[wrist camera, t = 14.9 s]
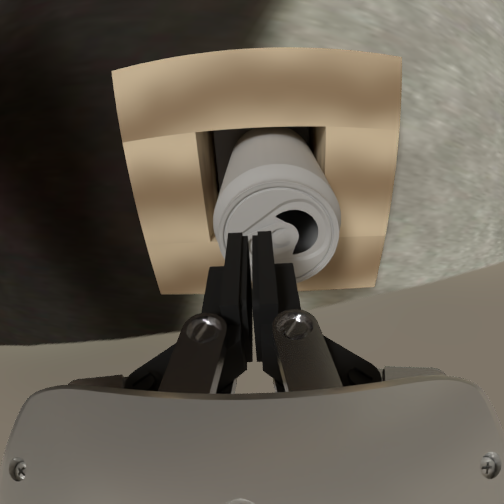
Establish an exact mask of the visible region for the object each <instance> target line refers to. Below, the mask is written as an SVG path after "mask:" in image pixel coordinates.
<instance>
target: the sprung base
mask: <svg viewBox="0 0 504 504" xmlns="http://www.w3.org/2000/svg"><path fill="white" fill-rule="evenodd" d="M287 128H290V129H292V130H293V131H295V132H296V133H298V134H299V135H300V136H301V137H302V138H303V139H304V140H305V142H306V143H307V145H308V146H309V126H289V127H287ZM251 129H253V128H240V129H225V130H213V133H214V142H215V152H216V161H217V170H218V179H219V188H220V189H221V186H222V183H223V179H224V176H225V173H226V170H227V167H228V163H229V160H230V157H231V154H232V151H233V148H234V146H235V144H236V143H237V141H238V140H239V139H240V138H241V137H242V136H243V135H244V134H245V133H246V132H248V131H250V130H251Z"/></svg>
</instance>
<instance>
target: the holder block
mask: <svg viewBox="0 0 504 504" xmlns="http://www.w3.org/2000/svg"><path fill="white" fill-rule="evenodd" d="M112 78H113V86H114V93H115V100H116V107H117V113H118V119H119V125H120V131H121V136H122V142H123V147H124V152H125V157H126V162H127V167H128V172H129V176H130V181H131V185H132V190H133V194H134V198H135V203H136V207H137V211H138V215H139V219H140V223H141V227H142V230H143V234H144V238H145V241H146V245H147V249H148V252H149V256H150V259H151V263H152V266H153V269H154V273H155V276H156V279H157V283H158V286H159V289H160V292H161V294H205V289H206V283H207V277H208V271H209V267H212V266H224V263H225V259H224V258H223V256H222V254H221V251H220V248H219V245H218V242H217V240H216V237H215V233H214V228H213V215H214V209H215V206H216V203H217V199H218V196H219V193H220V188H219V179H218V170H217V161H216V152H215V142H214V133H213V130H225V129H240V128H258V127H289V126H309V148H310V150H311V152H312V153H313V155H314V157H315V159H316V161H317V162H318V164H319V166H320V168H321V170H322V171H323V173H324V175H325V177H326V179H327V181H328V183H329V185H330V186H331V188H332V190H333V192H334V194H335V196H336V198H337V201H338V203H339V206H340V211H341V227H340V231H339V240H338V244H337V247H336V250H335V253H334V255H333V257H332V258H331V260H330V261H329V262H328V264H327V265H326V266H325V267H324V268H323V269H322V270H321V271H319V272H318V273H317V274H315V275H314V276H312V277H310V278H309V279H307V280H304V281H302V282H299V283H297V289H298V291H312V290H332V289H349V288H365V287H375V283H376V278H377V274H378V269H379V265H380V260H381V255H382V251H383V245H384V240H385V235H386V230H387V224H388V218H389V212H390V206H391V199H392V192H393V185H394V177H395V169H396V160H397V151H398V140H399V127H400V111H401V86H402V57H397V56H391V55H385V54H378V53H370V52H362V51H352V50H341V49H326V48H292V47H286V48H252V49H237V50H225V51H215V52H207V53H199V54H192V55H185V56H179V57H173V58H167V59H162V60H157V61H152V62H147V63H142V64H138V65H134V66H130V67H126V68H122V69H118V70H114V71H112Z"/></svg>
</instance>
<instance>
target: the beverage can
mask: <svg viewBox="0 0 504 504" xmlns="http://www.w3.org/2000/svg"><path fill="white" fill-rule="evenodd" d="M340 227H341V211H340V206H339V203H338V201H337V198H336V196H335V194H334V192H333V190H332V188H331V186H330V185H329V183H328V181H327V179H326V177H325V175H324V173H323V171H322V170H321V168H320V166H319V164H318V162H317V161H316V159H315V157H314V155H313V153H312V152H311V150H310V148H309V146H308V145H307V143H306V142H305V140H304V139H303V138H302V137H301V136H300V135H299V134H298V133H296V132H295V131H293V130H292V129H290V128H287V127H258V128H253V129H251V130H250V131H248V132H246V133H245V134H244V135H243V136H242V137H241V138H240V139H239V140H238V141H237V143H236V144H235V146H234V148H233V151H232V154H231V157H230V160H229V163H228V167H227V170H226V173H225V176H224V179H223V183H222V186H221V189H220V193H219V196H218V199H217V203H216V206H215V209H214V215H213V228H214V233H215V237H216V240H217V242H218V245H219V248H220V251H221V254H222V256H223V258H224V259H225V255H226V246H227V238H228V233H238V232H242V234H243V236H248V243H249V256H250V268H251V281H252V235H258V233H257V231H271V233H272V243H273V253H274V263H275V264H276V263H293V266H294V272H295V277H296V283H299V282H302V281H304V280H307V279H309V278H310V277H312V276H314V275H315V274H317V273H318V272H319V271H321V270H322V269H323V268H324V267H325V266H326V265H327V264H328V262H329V261H330V260H331V258H332V257H333V255H334V253H335V250H336V247H337V244H338V240H339V231H340Z"/></svg>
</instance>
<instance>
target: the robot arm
mask: <svg viewBox="0 0 504 504" xmlns="http://www.w3.org/2000/svg"><path fill="white" fill-rule="evenodd" d="M257 233H258V235H252V281H251V268H250V256H249V243H248V236H243V234H242V232H238V233H228V238H227V246H226V255H225V263H224V266H212V267H209V271H208V277H207V283H206V289H205V295H204V301H203V307H202V313H201V314H197V315H195V316H193V317H191V318H190V319H188V320H187V321H186V322H185V324H184V326H183V328H182V330H181V333H180V335H179V338H178V340H177V343H176V344H174V345H172V346H171V347H169V348H168V349H167V350H165V351H164V352H162V353H161V354H159V355H158V356H156V357H155V358H153V359H152V360H150V361H149V362H147V363H146V364H144V365H143V366H141V367H140V368H138V369H137V370H135V371H134V372H133V373H131V374H130V375H129V377H124V376H123V375H114V376H105V377H96V378H85V379H77V380H73V381H72V382H70V383H69V384H68V385H60V386H54V387H49V388H45V389H43V390H40V391H38V392H35V393H34V394H32V395H31V396H30V397H29V398H28V399H27V400H26V402H25V403H24V404H23V406H22V408H21V410H20V412H19V414H18V416H17V418H16V420H15V423H14V425H13V428H12V430H11V433H10V436H9V439H8V442H7V445H6V449H5V452H4V456H3V460H2V463H1V468H0V504H504V431H503V428H502V425H501V423H500V420H499V418H498V415H497V413H496V411H495V409H494V407H493V405H492V403H491V401H490V399H489V398H488V396H487V394H486V393H485V392H484V391H483V389H482V388H481V387H480V386H479V385H477V384H476V383H474V382H472V381H470V380H467V379H464V378H460V377H454V376H447V375H446V374H445V373H444V372H443V371H441V370H440V369H436V368H417V367H416V368H415V367H390V366H385V367H384V369H377V368H376V367H375V366H374V365H372V364H371V363H369V362H368V361H366V360H364V359H362V358H361V357H359V356H357V355H355V354H354V353H352V352H350V351H349V350H347V349H345V348H343V347H342V346H340V345H339V344H337V343H335V342H333V341H332V340H330V339H328V338H326V337H325V336H323V335H322V332H321V330H320V327H319V325H318V322H317V320H316V319H315V317H314V316H313V315H311V314H310V313H308V312H306V311H304V310H301V307H300V301H299V295H298V289H297V283H296V277H295V272H294V266H293V263H276V264H275V263H274V253H273V243H272V233H271V231H257ZM252 307H253V320H254V332H255V343H256V355H257V362H263V371H264V372H266V373H267V374H269V375H270V376H271V377H273V384H274V388H275V392H276V393H253V394H234V393H235V388H236V384H237V377H238V376H239V375H241V374H242V373H243V372H244V371H245V370H247V362H252Z"/></svg>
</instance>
